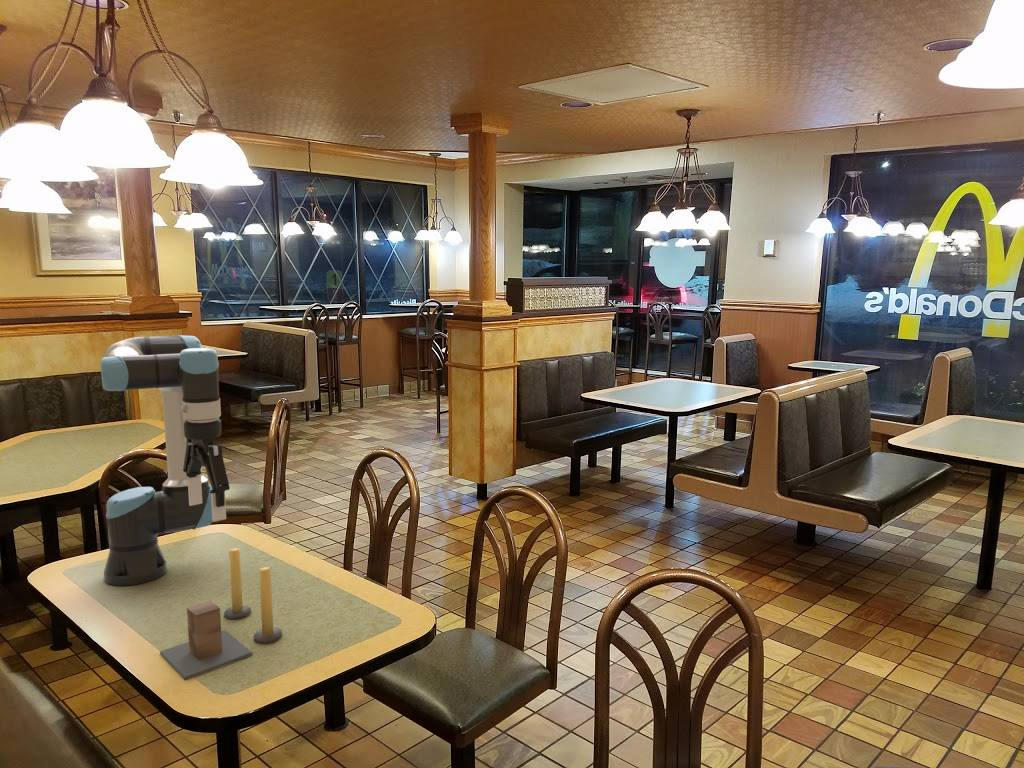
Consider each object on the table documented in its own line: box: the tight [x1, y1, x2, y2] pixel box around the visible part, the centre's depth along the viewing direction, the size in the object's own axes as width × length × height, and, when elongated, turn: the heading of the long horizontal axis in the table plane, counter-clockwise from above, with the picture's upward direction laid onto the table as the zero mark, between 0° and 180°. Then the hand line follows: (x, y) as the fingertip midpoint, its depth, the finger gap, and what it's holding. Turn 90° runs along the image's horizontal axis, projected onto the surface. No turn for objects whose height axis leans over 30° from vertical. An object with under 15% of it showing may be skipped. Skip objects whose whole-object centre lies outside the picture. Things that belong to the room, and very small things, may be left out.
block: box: [186, 600, 222, 660], centre depth 151 cm, size 5×5×10 cm
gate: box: [223, 547, 283, 645], centre depth 164 cm, size 22×6×16 cm, turn 44°
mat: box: [159, 629, 253, 681], centre depth 152 cm, size 14×14×1 cm
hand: (207, 512), depth 159 cm, fingers open, 13 cm apart
